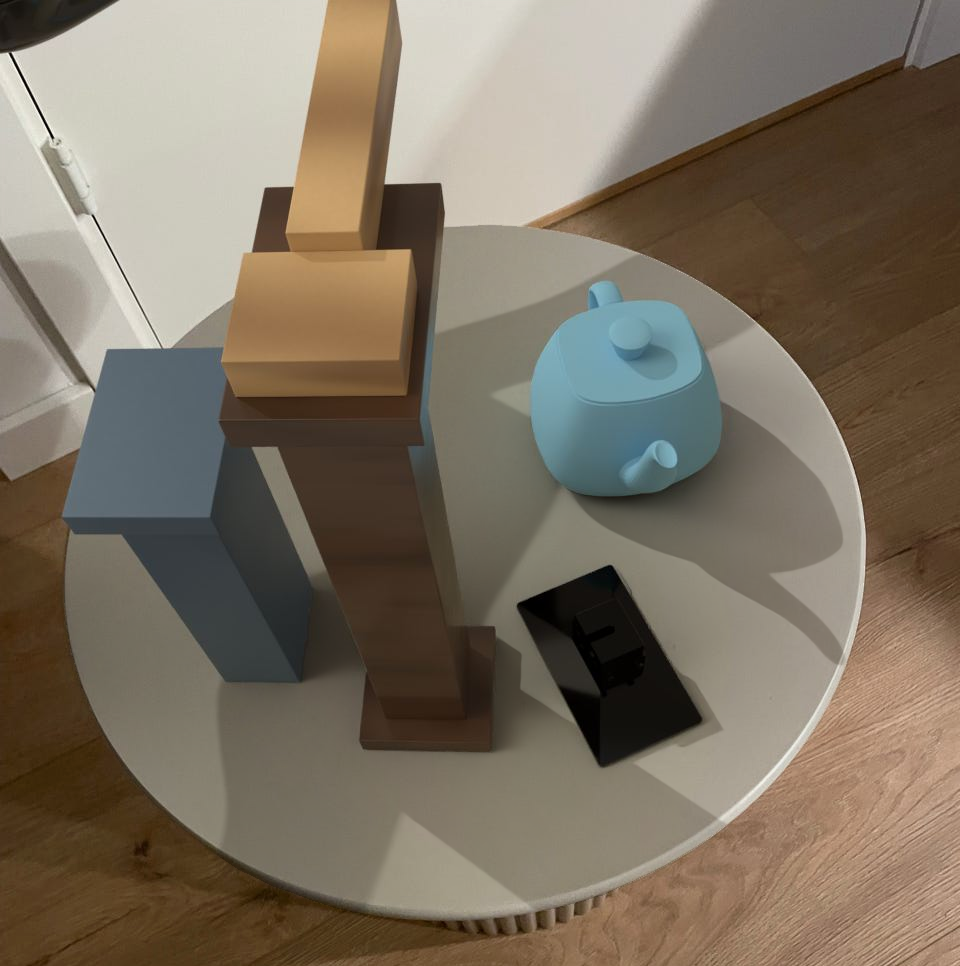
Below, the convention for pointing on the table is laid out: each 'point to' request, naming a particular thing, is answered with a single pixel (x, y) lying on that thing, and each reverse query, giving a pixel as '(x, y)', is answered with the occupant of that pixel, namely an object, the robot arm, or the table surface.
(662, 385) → the teapot
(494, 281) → the table surface
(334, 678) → the table surface
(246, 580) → the blue-grey tall block
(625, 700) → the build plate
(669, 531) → the table surface
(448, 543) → the dark wood pedestal
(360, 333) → the mallet
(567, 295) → the table surface
